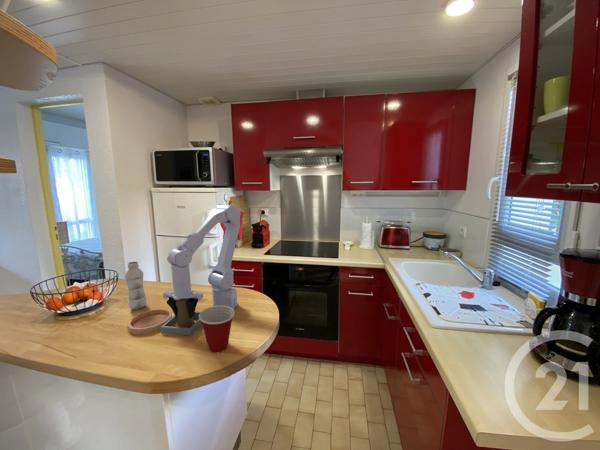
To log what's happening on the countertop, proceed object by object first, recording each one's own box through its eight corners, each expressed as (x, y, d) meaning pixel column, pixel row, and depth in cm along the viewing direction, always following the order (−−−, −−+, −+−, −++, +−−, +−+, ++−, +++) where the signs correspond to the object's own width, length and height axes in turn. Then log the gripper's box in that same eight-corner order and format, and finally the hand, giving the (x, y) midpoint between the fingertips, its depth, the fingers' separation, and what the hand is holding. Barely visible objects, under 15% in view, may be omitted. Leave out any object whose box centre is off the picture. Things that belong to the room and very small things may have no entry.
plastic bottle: (127, 313, 98) (121, 266, 94) (130, 306, 103) (124, 261, 100) (146, 309, 100) (141, 264, 97) (147, 302, 106) (143, 259, 103)
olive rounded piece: (187, 330, 85) (184, 302, 84) (173, 329, 87) (170, 300, 85) (198, 321, 91) (195, 294, 89) (184, 320, 92) (181, 293, 91)
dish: (179, 314, 97) (179, 309, 96) (154, 335, 83) (154, 330, 82) (148, 312, 98) (147, 307, 98) (118, 332, 84) (117, 327, 84)
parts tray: (207, 318, 94) (206, 312, 93) (191, 335, 83) (190, 329, 82) (180, 316, 95) (180, 310, 95) (161, 333, 84) (160, 327, 84)
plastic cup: (237, 354, 73) (235, 318, 71) (199, 362, 70) (196, 324, 68) (236, 334, 84) (234, 302, 82) (203, 339, 81) (200, 306, 79)
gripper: (155, 285, 83) (159, 321, 85) (194, 287, 81) (197, 323, 83) (168, 277, 90) (172, 310, 92) (205, 279, 88) (207, 313, 90)
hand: (184, 316), depth 88 cm, fingers closed on olive rounded piece, 5 cm apart
